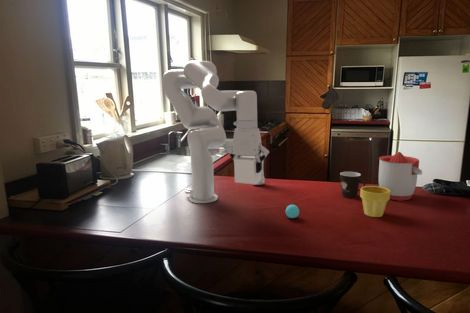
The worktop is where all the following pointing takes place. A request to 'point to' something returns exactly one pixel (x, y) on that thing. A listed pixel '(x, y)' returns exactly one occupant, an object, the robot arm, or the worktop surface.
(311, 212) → the worktop surface
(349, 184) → the coffee mug
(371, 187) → the plant pot
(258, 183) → the plastic bottle
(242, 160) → the pale grey cube
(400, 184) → the citrus juicer
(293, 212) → the ball
